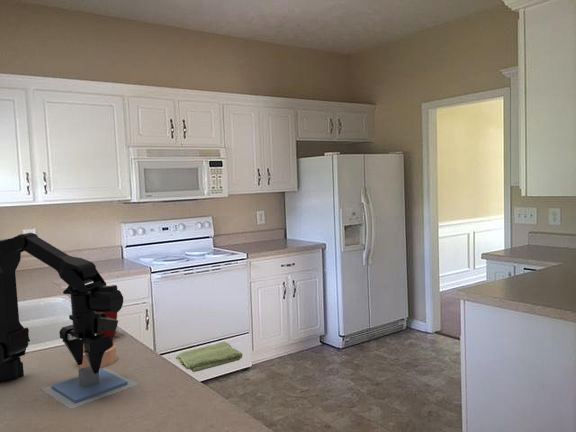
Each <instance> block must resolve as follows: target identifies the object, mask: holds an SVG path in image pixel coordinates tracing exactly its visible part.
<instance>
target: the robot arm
mask: <svg viewBox="0 0 576 432" xmlns="http://www.w3.org/2000/svg"><path fill="white" fill-rule="evenodd" d="M23 252H26V253H27V254H29V255H31V256H33V257H34V258H36V259H37V260H39V261H40V262H43V263H44V264H45V265H47V266H49V267H50V268H52V269H53V270H55V271H56V272H57V273H58V275H59V276H58V277H59V278H60V280H62V281H63V282H64V283H65V284H67V285H68V286H67V288H65V289H64V290H63V291H62V294H63V295H70V303H71V304H70V305H71V306H70V307H71V314H69V315H68V318H69V320H70V321H72V324H71V325H70V324H69V325H66V326H63V327H61V329H60V330H59V338H60V339H62V343H64V345H65V347H66V348H67V350H68V351H69V353H70V354H71V356H72V358H73V360H74V361H75V363H76V365H77V364H78V365H82V362H83V346H84V348H85V350H84V352H85V355H86V357H87V359H88V361H89V364H90V366H91V368H92V370H93V373H94V374H96V373H98V372H99V370H100V369H101V367H100V365H101V361H102V357H103V354H104V353H105V351H106V350H108V349H110V348H111V347H112V346H113V345H114V344H115V343H114V338H112V337H111V336H109V335H106V334H104V333H102V330H105V331H112V332H115V333H116V331H117V327H118V324H119V320H118V319H117V320H115V319H113V318H109V317H107V315H106V314H105V313H102V312H113V313H116V312H117V313H119V312H120V311H121V310H122V308H123V305H124V295H123V294H122V292H121V291H120V290H119V289H118V285H116V284H112V285H107V282H106V281H105V279H104V278H103V276H102V275H101V274H100V272H99V271H98V269H97V266H96V265H95V263H94V262H92V261H90V260H88V259H84V258H82V257H77V256H71V255H69V254H67V253H65V252H64V251H62V250H61V249H60V248H57V247H55V246H54V245H52V244H51V243H49V242H47V241H46V240H44V239H42V238H41V237H39V236H38V235H37V234H36V233H34V232H27V233H19V234H18V235H16V236H13V237H11V238H5V239H0V384H3V383H10V382H13V381H16V380H18V379H19V378H23V377H25V371H24V363H23V361H21V357H23V356H25V355H26V350H27V348H28V347H29V342H31V339H30V336H29V332H30V331H29V328H28V327H24V326H23V325H22V323H21V322H20V314H19V303H18V301H19V300H18V291H17V290H18V288H17V287H18V286H17V279H16V277H17V275H16V270H17V268H18V266H19V264H20V262H21V257H22V253H23ZM96 312H98V313H96ZM96 333H98V334H99V333H102V334H99V335H96ZM113 343H114V344H113Z"/></svg>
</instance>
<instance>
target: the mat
mask: <svg viewBox="0 0 576 432" xmlns="http://www.w3.org/2000/svg"><path fill="white" fill-rule="evenodd" d="M102 369H103V370H105V371H107V372H109V373H111V374H113V375H115V376H117V377H119V378H121V379H123V380H125V381H127V383H128V385H125V386H122V387H120V388H117V389H114V390H111V391H109V392H106V393H103V394H100V395H97V396H95V397H92V398H89V399H86V400H84V401H81V402H78V403H74V402H72V401H70V400H69V399H67V398H66V397H64V396H63V395H61V394H60V393H58V392H57V391H55V390H53V389H52V387H51V385H49V386H45V387H41V388H40V390H42V391H43V392H44V393H46V394H47V395H48V396H51V397H52V398H54V399H55V400H56V401H58V402H59V403H61V405H64V406H65V407H67V408H68V409H70V410H72V409H75V408H77V407H80V406H83V405H86V404H89V403H91V402H93V401H96V400H99V399H102V398H105V397H108V396H110V395H114V394H115V393H116V394H117V393H118V392H121V391H124V390H126V389H129V388H132V387H135V386H138V385H139V383H138V382H135V381H133V380H131V379H129V378H127V377H125V376H123V375H121V374H119V373H117V372H115V371H113V370H111V369H109V368H107V367H102Z"/></svg>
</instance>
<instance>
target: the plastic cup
mask: <svg viewBox="0 0 576 432" xmlns="http://www.w3.org/2000/svg"><path fill="white" fill-rule="evenodd" d="M96 313H98V312H96ZM102 313H105V314H106V315H107V317H109V318H113V319H115V320H118V312H116V313H113V312H102ZM102 333H104V334H106V335H109V336H111V337H112V338H113V339H114V338H116V337H115V336H116V332H112V331H105V330H102ZM102 333H99V334H102ZM99 334H98V333H96V334H95V335H99Z"/></svg>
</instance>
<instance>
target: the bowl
mask: <svg viewBox="0 0 576 432" xmlns="http://www.w3.org/2000/svg"><path fill="white" fill-rule="evenodd" d="M113 344H114V345H113V346H112V347H111V348H110V349H108V350H106V351H105V353H104V354H103V357H102V361H101V365H100V368H105V367H106V366H110V365H112V364H113V363H115V362H117V360H118V359H117V356H118V354H117V352H118V351H117V344H116V343H114V342H113ZM84 350H85V348H84V345H83V362H82V365H78V364H77V363H76V367H79V368H80V369H82V368H85V367H89V366H90V364H89V361H88V359H87V357H86V355H85V352H84Z"/></svg>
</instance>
